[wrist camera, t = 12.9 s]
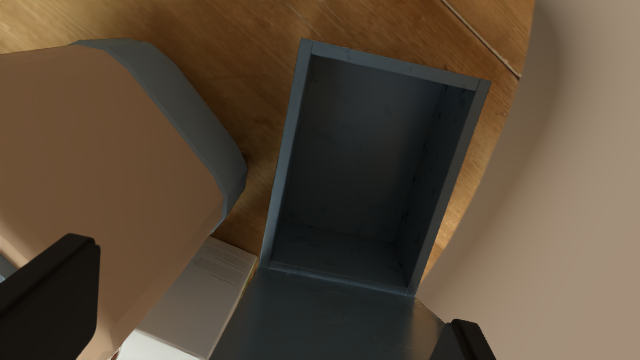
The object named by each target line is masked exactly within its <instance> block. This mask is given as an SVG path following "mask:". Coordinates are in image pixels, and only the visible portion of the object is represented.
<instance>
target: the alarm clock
mask: <svg viewBox="0 0 640 360" xmlns="http://www.w3.org/2000/svg"><path fill="white" fill-rule="evenodd" d="M246 177H247V166H246V164H245V161H244V159H243V156H242V154H241V152H240V149H239V147H238V145H237V144H236V142H235V141H234V140H233V138H232V137H231V136H230V134H229V133H228V132H227V130H226V129H225V128H224V127H223V125H222V124H221V123H220V121H219V120H218V119H217V117H216V116H215V115H214V113H213V112H212V111H211V109H210V108H209V107H208V106H207V104H206V103H205V102H204V100H203V99H202V98H201V96H200V95H199V94H198V92H197V91H196V90H195V88H194V87H193V86H192V85H191V83H190V82H189V81H188V79H187V78H186V77H185V75H184V74H183V73H182V71H181V70H180V69H179V67H178V66H177V65H176V64H175V63H174V62H173V61H172V60H171V59H170V58H168V57H167V56H166V55H165V54H163V53H162V52H161V51H160V50H159V49H157V48H156V47H155V46H154V45H153V44H151V43H150V42H145V41H140V40H135V39H130V38H115V39H94V40H78V41H76V42H74V43H71V44H69V45H67V46H61V47H53V48H45V49H37V50H29V51H21V52H14V53H6V54H0V283H1V282H2V281H4V280H5V279H6V278H8V277H9V276H10V275H12V274H13V273H14V272H16V271H17V270H18V269H20V268H21V267H23V266H24V265H25V264H27V263H28V262H29V261H31V260H32V259H33V258H35V257H36V256H37V255H39V254H40V253H41V252H43V251H44V250H45V249H47V248H48V247H49V246H51V245H52V244H54V243H55V242H56V241H58V240H59V239H60V238H62V237H63V236H64V235H66V234H68V233H74V234H79V235H83V236H88V237H92V238H94V240H95V244H97V245H99V246H100V247H101V257H100V275H99V293H98V311H97V327H96V331H95V334H94V336H93V338H92V340H91V341H90V342H89V344H88V345H87V346H86V347H85V349H84V350H83V351H82V353H81V354H80V355H79V356H78V358H77V359H76V360H108V359H109V358H110V357H112V356H113V354H114V353H115V352H116V351H117V349H118V348H119V347H120V346H121V345H122V343H123V342H124V341H125V340H126V339H127V337H128V336H129V335H130V334H131V333H132V332H133V330H134V329H135V328H136V327H137V326H138V324H139V323H140V322H141V321H142V320H143V318H144V317H145V316H146V315H147V314H148V313H149V311H150V310H151V309H152V308H153V307H154V305H155V304H156V303H157V302H158V301H159V299H160V298H161V297H162V296H163V295H164V293H165V292H166V291H167V290H168V289H169V288H170V286H171V285H172V284H173V283H174V282H175V280H176V279H177V278H178V277H179V275H180V274H181V273H182V271H183V270H184V269H185V267H186V266H187V265H188V263H189V262H190V261H191V259H192V258H193V256H194V255H195V254H196V252H197V251H198V250H199V248H200V247H201V246H202V244H203V243H204V242H205V240H206V239H207V237H208V236H209V235H210V234H212V233H213V232H214V231H215V229H216V228H217V227H218V226H219V225H220V224H221V223H222V222H223V220H224V219H225V218H226V217H227V215H228V214H229V212H230V210H231V209H232V207H233V206H234V204H235V203H236V201H237V200H238V198H239V197H240V195H241V193H242V192H243V190H244V189H245V184H246Z"/></svg>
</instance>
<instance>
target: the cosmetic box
mask: <svg viewBox="0 0 640 360" xmlns="http://www.w3.org/2000/svg"><path fill="white" fill-rule="evenodd" d="M256 260H257V256H256V255H253V254H251V253H249V252H246V251H244V250H242V249H239V248H237V247H235V246H232V245H230V244H228V243H225V242H223V241H221V240H218V239H216V238H214V237H211V236H208V237H207V239H206V240H205V242H204V243H203V244H202V246H201V247H200V248H199V250H198V251H197V252H196V254H195V255H194V256H193V258H192V259H191V261H190V262H189V263H188V265H187V266H186V267H185V269H184V270H183V271H182V273H181V274H180V275H179V277H178V278H177V279H176V280H175V282H174V283H173V284H172V285H171V286H170V288H169V289H168V290H167V291H166V292H165V293H164V295H163V296H162V297H161V298H160V299H159V301H158V302H157V303H156V304H155V305H154V307H153V308H152V309H151V310H150V311H149V313H148V314H147V315H146V316H145V317H144V318H143V320H142V321H141V322H140V323H139V324H138V326H137V327H136V328H135V329H134V330H133V332H132V333H131V334H130V335H129V336H128V337H127V339H126V340H125V341H124V342H123V343H122V345H121V347H120V350H119V353H118V356H117V358H116V360H209V358H210V356H211V354H212V352H213V350H214V348H215V346H216V344H217V343H218V341H219V339H220V337H221V335H222V333H223V331H224V329H225V327H226V326H227V324H228V322H229V320H230V318H231V316H232V314H233V312H234V310H235V308H236V306H237V304H238V302H239V299H240V297H241V295H242V293H243V290H244V288H245V286H246V283H247V281H248V279H249V276H250V274H251V271H252V269H253V267H254V265H255V262H256Z"/></svg>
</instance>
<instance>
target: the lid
mask: <svg viewBox="0 0 640 360" xmlns="http://www.w3.org/2000/svg"><path fill="white" fill-rule="evenodd" d="M444 326H445V323H444V322H443V321H441V319H440V318H438V317H437V316H436V315H435V314H434V313H433V312H432V311H430V310H429V309H428V308H427V307H426V306H425V305H424V304H422V303H421V302H420V301H419V300H418V299H417V298H415V297H410V296H405V295H400V294H395V293H390V292H385V291H380V290H375V289H370V288H364V287H359V286H354V285H349V284H344V283H339V282H334V281H329V280H324V279H319V278H314V277H309V276H304V275H299V274H294V273H288V272H283V271H278V270H273V269H268V268H263V267H257V269H256V271H255V273H254V275H253V276H252V278H251V280H250V282H249V284H248V286H247V288H246V290H245V292H244V293H243V295H242V297H241V299H240V301H239V303H238V305H237V307H236V309H235V310H234V312H233V314H232V316H231V318H230V320H229V322H228V324H227V326H226V327H225V329H224V331H223V333H222V335H221V337H220V339H219V341H218V343H217V344H216V346H215V348H214V350H213V352H212V354H211V356H210V358H209V360H429V359H430V357H431V354H432V352H433V350H434V348H435V345H436V343H437V341H438V339H439V336H440V334H441V332H442V330H443V328H444Z"/></svg>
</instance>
